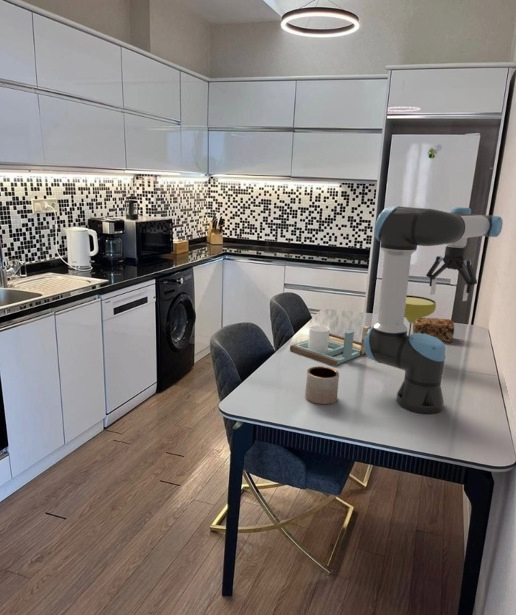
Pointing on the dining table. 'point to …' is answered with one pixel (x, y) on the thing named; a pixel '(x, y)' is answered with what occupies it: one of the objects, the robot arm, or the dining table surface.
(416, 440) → the dining table surface
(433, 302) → the cocktail glass
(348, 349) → the teal divided frame
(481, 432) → the dining table surface
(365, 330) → the light wood drawer
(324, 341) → the mug
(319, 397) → the planter
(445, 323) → the bread
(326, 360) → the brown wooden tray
